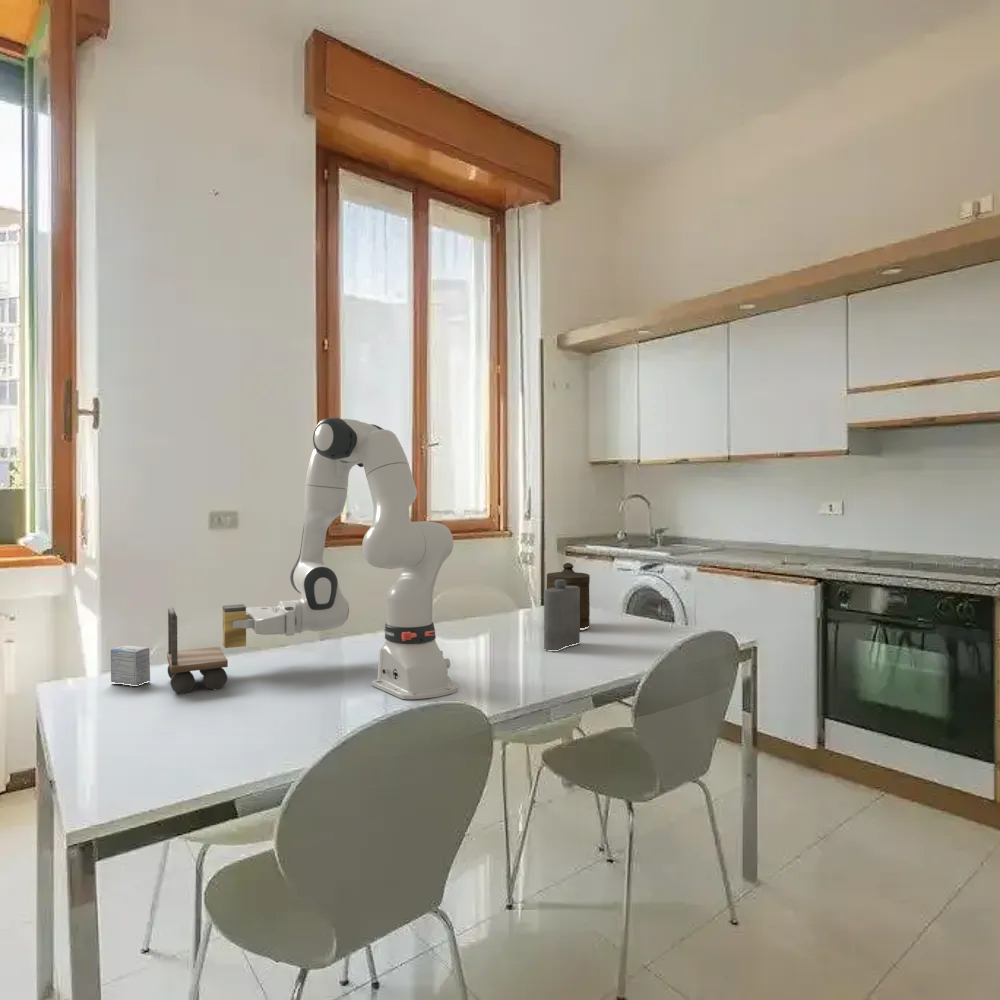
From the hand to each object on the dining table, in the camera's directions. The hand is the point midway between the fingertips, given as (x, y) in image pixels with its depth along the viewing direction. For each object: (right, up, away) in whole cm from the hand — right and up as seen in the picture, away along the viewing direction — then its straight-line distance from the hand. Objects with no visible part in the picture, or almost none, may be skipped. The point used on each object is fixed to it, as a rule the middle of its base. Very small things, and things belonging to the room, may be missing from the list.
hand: (230, 622), depth 176 cm
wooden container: (+91, -12, +59) cm, 110 cm away
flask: (+87, -13, +30) cm, 93 cm away
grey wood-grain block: (-21, -13, -9) cm, 26 cm away
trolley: (-5, -13, -9) cm, 17 cm away
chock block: (+1, -6, +1) cm, 6 cm away
